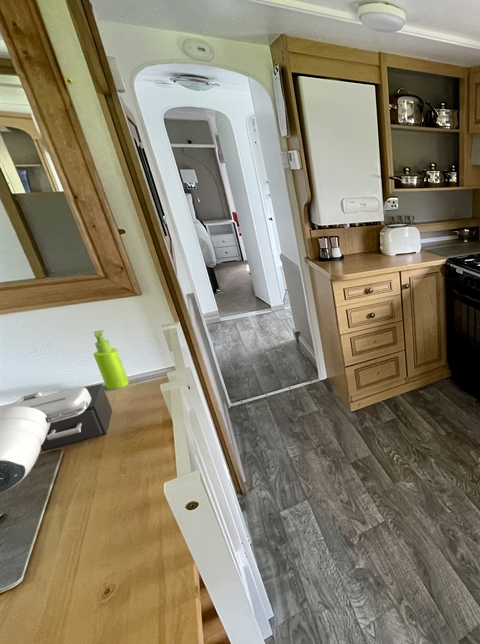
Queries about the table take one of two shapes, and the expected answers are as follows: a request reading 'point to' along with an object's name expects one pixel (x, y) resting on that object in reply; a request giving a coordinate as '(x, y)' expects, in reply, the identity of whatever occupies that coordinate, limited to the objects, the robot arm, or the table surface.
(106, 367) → the soap dispenser
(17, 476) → the robot arm
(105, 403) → the cabinet
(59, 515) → the table surface
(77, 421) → the drawer
